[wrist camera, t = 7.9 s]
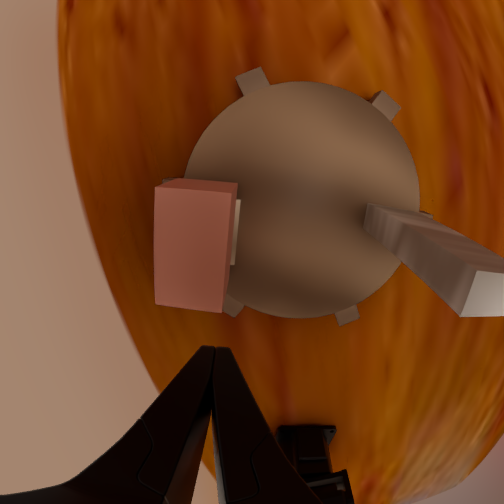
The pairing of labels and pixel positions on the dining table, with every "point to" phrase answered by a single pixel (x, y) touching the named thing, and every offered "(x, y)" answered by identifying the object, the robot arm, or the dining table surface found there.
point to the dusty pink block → (193, 242)
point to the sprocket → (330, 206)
